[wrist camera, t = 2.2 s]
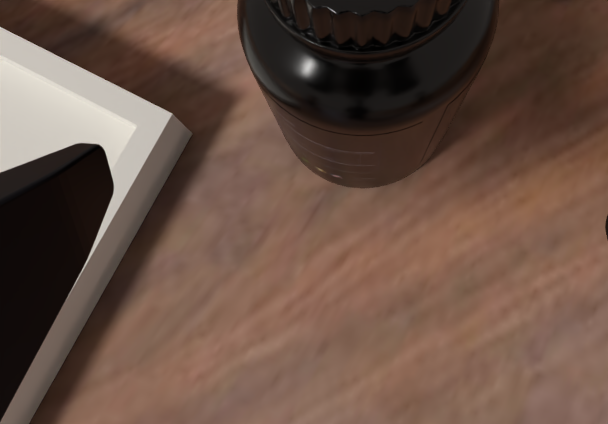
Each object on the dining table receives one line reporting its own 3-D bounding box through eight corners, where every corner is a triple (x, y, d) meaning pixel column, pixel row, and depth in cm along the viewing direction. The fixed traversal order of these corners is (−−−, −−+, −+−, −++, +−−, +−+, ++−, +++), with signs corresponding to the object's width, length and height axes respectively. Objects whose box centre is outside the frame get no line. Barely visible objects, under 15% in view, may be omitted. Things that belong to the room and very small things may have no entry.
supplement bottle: (327, 10, 22) (298, -304, 11) (474, 75, 21) (623, -194, 10) (251, 148, 22) (130, -23, 10) (399, 222, 21) (459, 128, 9)
